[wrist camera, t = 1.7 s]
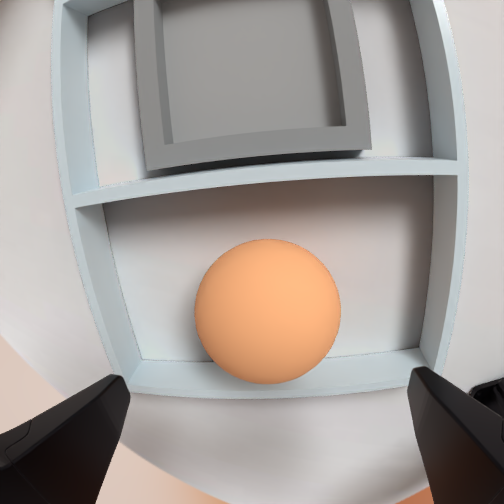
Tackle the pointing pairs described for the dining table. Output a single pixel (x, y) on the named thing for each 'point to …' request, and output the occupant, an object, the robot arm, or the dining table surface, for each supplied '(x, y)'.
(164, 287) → the dining table surface
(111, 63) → the dining table surface
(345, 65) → the square tray
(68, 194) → the two compartment tray
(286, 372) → the ball
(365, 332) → the dining table surface
